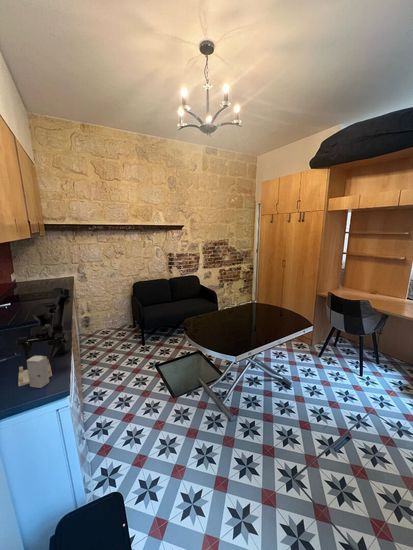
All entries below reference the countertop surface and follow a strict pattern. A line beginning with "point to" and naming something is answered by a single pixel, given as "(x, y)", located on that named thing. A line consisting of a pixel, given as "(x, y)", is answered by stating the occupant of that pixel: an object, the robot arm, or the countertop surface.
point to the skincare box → (38, 371)
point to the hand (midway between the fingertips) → (39, 358)
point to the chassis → (25, 377)
